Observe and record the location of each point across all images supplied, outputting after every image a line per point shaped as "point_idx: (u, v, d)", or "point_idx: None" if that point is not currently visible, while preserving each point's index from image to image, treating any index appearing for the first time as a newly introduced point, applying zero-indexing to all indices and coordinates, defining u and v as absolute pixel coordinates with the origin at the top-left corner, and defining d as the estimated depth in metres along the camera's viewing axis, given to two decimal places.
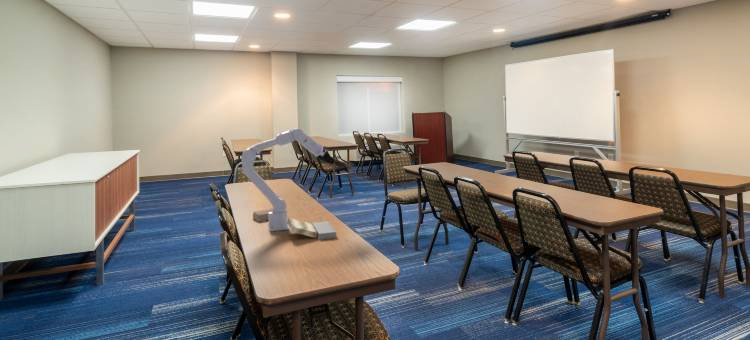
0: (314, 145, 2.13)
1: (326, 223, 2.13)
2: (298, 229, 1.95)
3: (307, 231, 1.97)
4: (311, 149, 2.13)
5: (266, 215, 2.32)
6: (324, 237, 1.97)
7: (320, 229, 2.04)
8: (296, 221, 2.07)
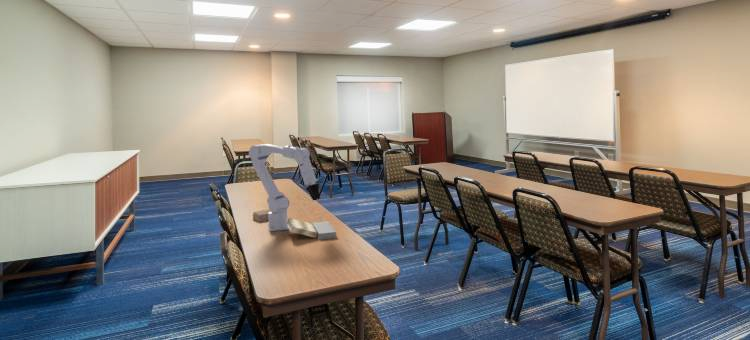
0: (310, 172, 2.01)
1: (326, 223, 2.13)
2: (298, 229, 1.95)
3: (307, 231, 1.97)
4: (305, 174, 2.01)
5: (266, 215, 2.32)
6: (324, 237, 1.97)
7: (320, 229, 2.04)
8: (296, 221, 2.07)
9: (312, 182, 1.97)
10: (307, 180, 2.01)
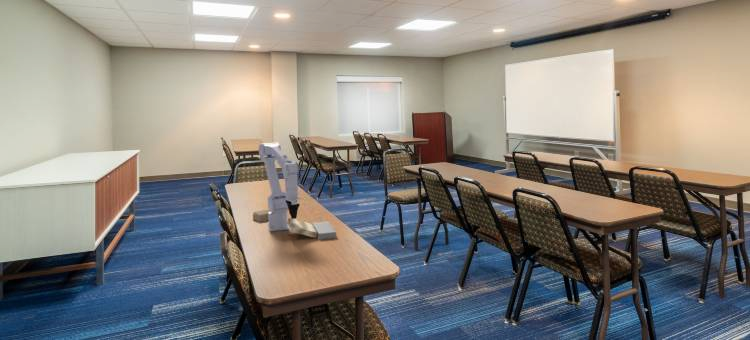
0: (294, 190, 1.98)
1: (326, 223, 2.13)
2: (298, 229, 1.95)
3: (307, 231, 1.97)
4: (288, 191, 1.97)
5: (267, 215, 2.32)
6: (324, 237, 1.97)
7: (320, 229, 2.04)
8: (296, 221, 2.07)
9: (293, 202, 1.94)
10: (289, 197, 1.98)
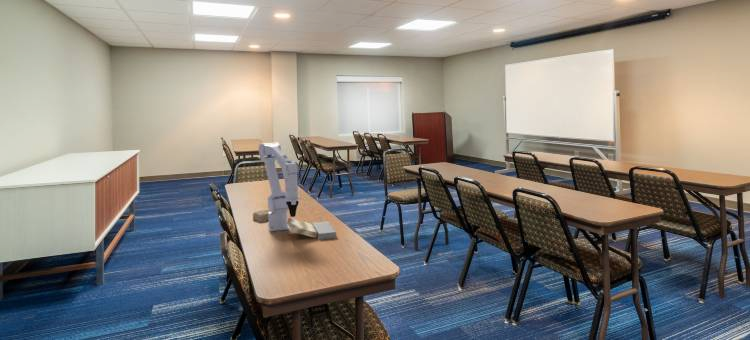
0: (294, 190, 1.98)
1: (326, 223, 2.13)
2: (298, 229, 1.95)
3: (307, 231, 1.97)
4: (288, 191, 1.97)
5: (267, 215, 2.32)
6: (324, 237, 1.97)
7: (320, 229, 2.04)
8: (296, 221, 2.07)
9: (293, 202, 1.94)
10: (289, 197, 1.98)
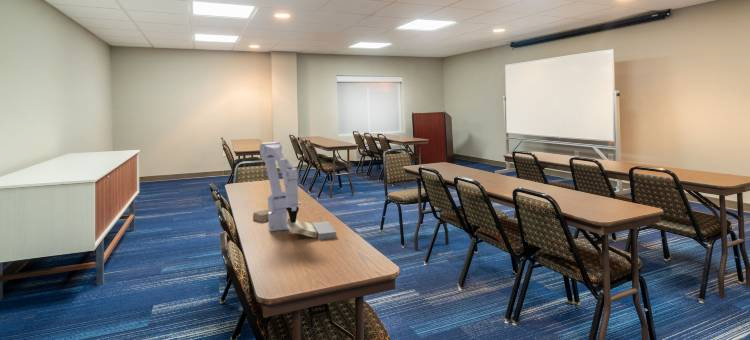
0: (294, 196, 1.98)
1: (326, 223, 2.13)
2: (298, 229, 1.95)
3: (307, 231, 1.97)
4: (288, 197, 1.98)
5: None
6: (324, 237, 1.97)
7: (320, 229, 2.04)
8: (296, 221, 2.07)
9: (293, 208, 1.94)
10: (289, 203, 1.98)
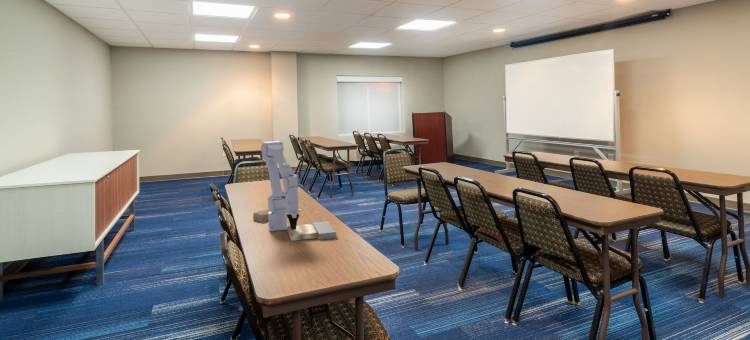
0: (294, 203, 1.99)
1: (326, 223, 2.13)
2: (298, 236, 1.96)
3: (307, 234, 1.97)
4: (289, 204, 1.98)
5: None
6: (324, 237, 1.97)
7: (320, 229, 2.04)
8: None
9: (293, 216, 1.95)
10: (289, 210, 1.99)
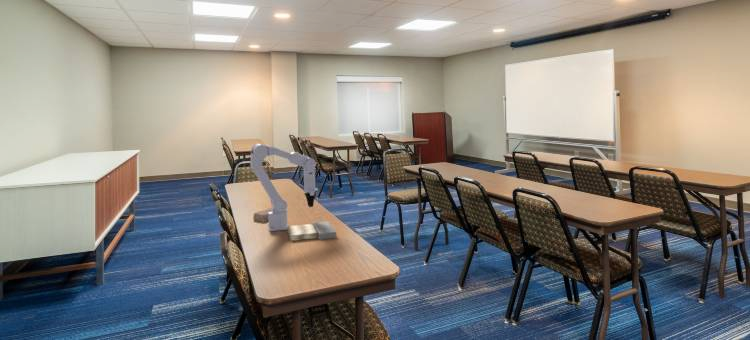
0: (312, 182, 2.17)
1: (326, 223, 2.13)
2: (298, 236, 1.96)
3: (307, 234, 1.97)
4: (307, 183, 2.17)
5: None
6: (324, 237, 1.97)
7: (320, 229, 2.04)
8: (295, 227, 2.08)
9: (311, 193, 2.13)
10: (307, 188, 2.17)
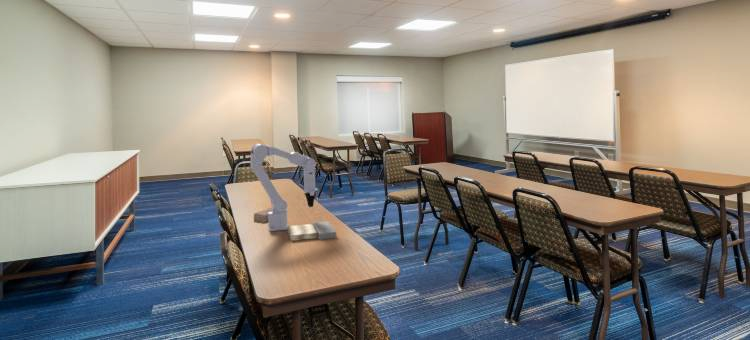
0: (312, 182, 2.17)
1: (326, 223, 2.13)
2: (298, 236, 1.96)
3: (307, 234, 1.97)
4: (307, 183, 2.17)
5: None
6: (324, 237, 1.97)
7: (320, 229, 2.04)
8: (295, 227, 2.08)
9: (311, 193, 2.13)
10: (307, 188, 2.17)
